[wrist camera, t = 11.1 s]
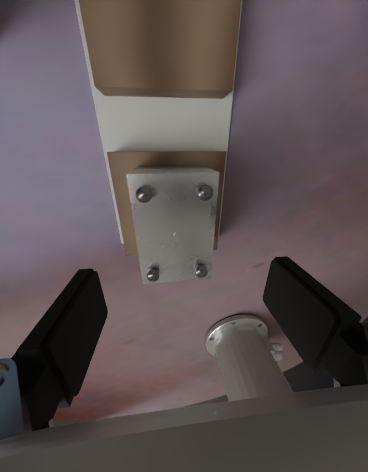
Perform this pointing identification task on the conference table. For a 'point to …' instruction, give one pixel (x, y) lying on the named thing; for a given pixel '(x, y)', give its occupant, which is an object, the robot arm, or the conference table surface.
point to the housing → (174, 220)
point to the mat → (159, 121)
